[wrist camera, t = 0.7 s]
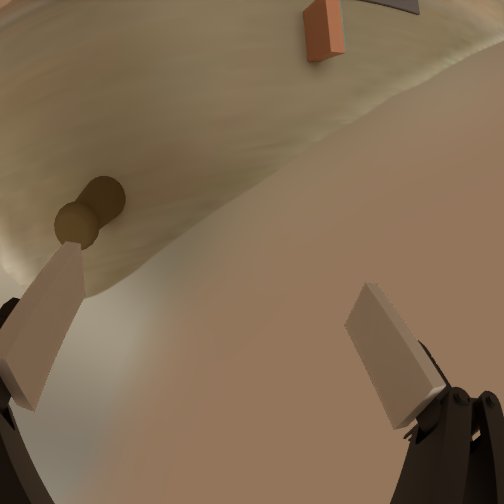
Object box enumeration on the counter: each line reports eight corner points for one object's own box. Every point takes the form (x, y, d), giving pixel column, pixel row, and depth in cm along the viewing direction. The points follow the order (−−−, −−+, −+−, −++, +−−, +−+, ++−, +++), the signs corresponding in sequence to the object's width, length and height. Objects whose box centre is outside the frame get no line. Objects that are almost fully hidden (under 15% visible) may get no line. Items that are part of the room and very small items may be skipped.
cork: (129, 181, 35) (98, 211, 25) (121, 223, 37) (94, 265, 28) (87, 171, 33) (47, 199, 23) (82, 213, 36) (46, 252, 26)
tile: (302, 11, 26) (324, -8, 19) (316, 12, 27) (340, -6, 20) (307, 61, 30) (330, 51, 23) (320, 61, 30) (346, 53, 23)
